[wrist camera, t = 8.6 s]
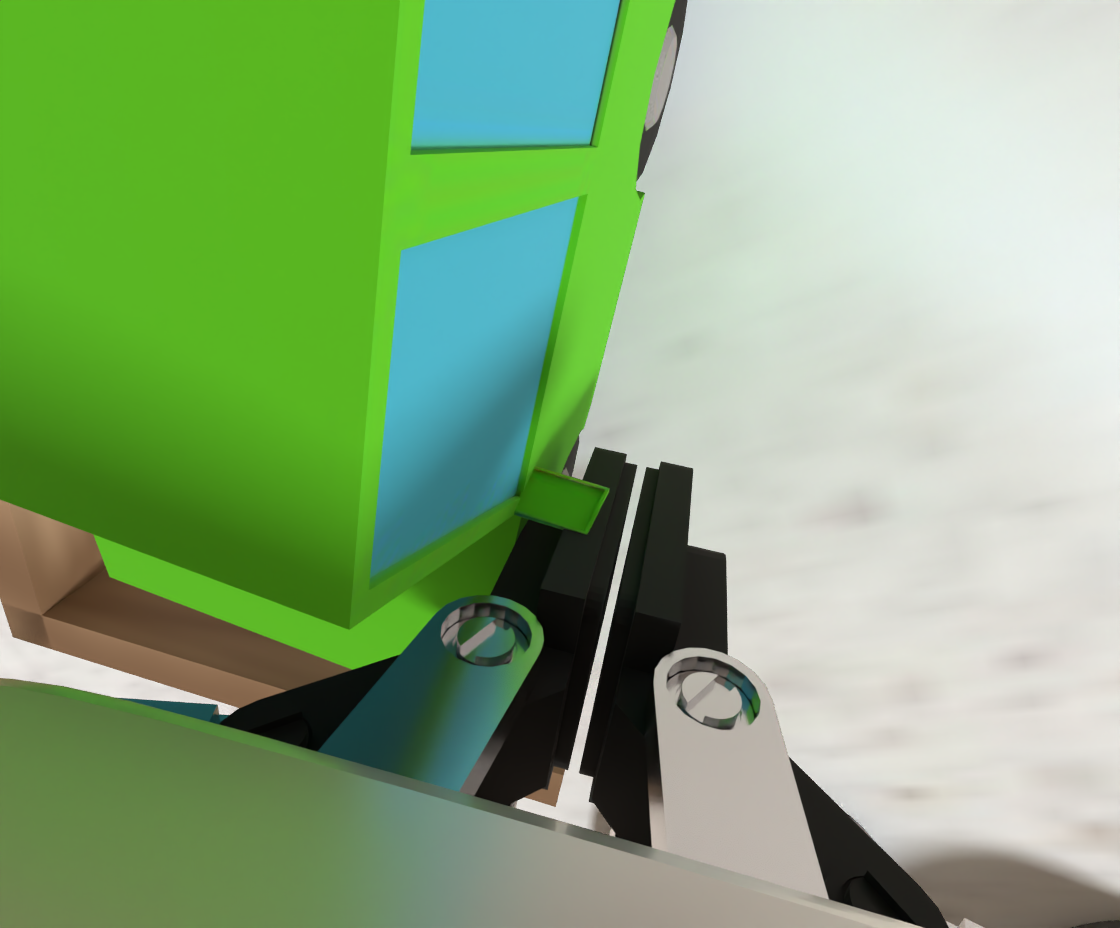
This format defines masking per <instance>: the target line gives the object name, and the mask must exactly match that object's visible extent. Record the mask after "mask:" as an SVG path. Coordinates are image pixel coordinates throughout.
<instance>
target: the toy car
mask: <svg viewBox="0 0 1120 928" xmlns="http://www.w3.org/2000/svg"><path fill="white" fill-rule="evenodd" d="M686 7H687V0H0V500H2V501H5V502H8V503H10V504H13V505H16V506H18V507H21V508H24V509H26V510H29V511H32V512H35V513H37V514H40V515H43V516H45V517H48V518H51V519H53V520H56V521H59V522H61V523H64V524H67V525H69V526H72V527H75V528H77V529H80V530H83V531H85V532H88V533H91V534H93V535H94V537H95V540H96V543H97V545H98V548H99V551H100V553H101V556H102V558H103V561H104V564H105V566H106V569H107V571H108V574H109V577H111V578H114V579H116V580H119V581H121V582H124V583H127V584H129V585H132V586H135V587H137V588H140V589H142V590H145V591H148V592H150V593H153V594H156V595H158V596H161V597H163V598H166V599H169V600H171V601H174V602H176V603H179V604H182V605H184V606H187V607H190V608H192V609H195V610H197V611H200V612H203V613H205V614H208V615H211V616H213V617H216V618H218V619H221V620H224V621H226V622H229V623H231V624H234V625H237V626H239V627H242V628H245V629H247V630H250V631H252V632H255V633H258V634H260V635H263V636H266V637H268V638H271V639H273V640H276V641H279V642H281V643H284V644H286V645H289V646H292V647H294V648H297V649H300V650H302V651H305V652H307V653H310V654H313V655H315V656H318V657H320V658H323V659H326V660H328V661H331V662H334V663H336V664H339V665H341V666H344V667H347V668H349V669H352V670H353V669H356V668H359V667H362V666H365V665H368V664H372V663H375V662H378V661H381V660H384V659H387V658H390V657H393V656H396V655H400V654H401V653H402V652H403V651H404V650H405V649H406V647H407V646H408V645H409V644H410V643H411V642H412V640H413V639H414V638H415V637H416V636H417V635H418V633H419V632H420V631H421V630H422V629H423V628H424V626H425V625H426V624H427V623H428V622H429V621H430V619H431V618H432V617H433V616H434V615H435V614H436V613H437V612H438V611H439V610H440V609H442V608H443V607H444V606H445V605H446V604H448V603H451V602H453V601H455V600H458V599H460V598H464V597H469V596H475V595H490V594H491V592H492V590H493V588H494V586H495V584H496V582H497V580H498V578H499V576H500V573H501V571H502V569H503V567H504V565H505V563H506V561H507V559H508V557H509V555H510V553H511V551H512V549H513V547H514V545H515V543H516V541H517V539H518V537H519V535H520V533H521V531H522V529H523V528H524V526H525V524H526V523H527V521H528V519H529V520H532V521H535V522H539V523H542V524H545V525H548V526H552V527H555V528H558V529H561V530H563V529H568V530H571V531H575V532H578V533H582V534H585V535H587V534H588V532H589V531H590V529H591V527H592V525H593V523H594V521H595V519H596V517H597V515H598V513H599V511H600V509H601V507H602V505H603V503H604V501H605V499H606V497H607V495H608V493H609V489H610V488H607V487H603V486H600V485H597V484H594V483H590V482H587V481H584V480H580V479H577V478H574V477H571V476H572V472H573V469H574V464H575V459H576V455H577V450H578V445H579V434H580V432H581V430H583V429H584V426H585V422H586V419H587V416H588V412H589V409H590V406H591V402H592V398H593V394H594V391H595V387H596V383H597V379H598V375H599V371H600V367H601V363H602V359H603V355H604V351H605V347H606V343H607V340H608V336H609V332H610V328H611V324H612V320H613V316H614V312H615V308H616V304H617V300H618V296H619V292H620V289H621V285H622V281H623V277H624V273H625V269H626V265H627V261H628V257H629V253H630V249H631V245H632V241H633V238H634V234H635V230H636V226H637V222H638V218H639V214H640V210H641V206H642V202H643V198H644V194H645V193H643V192H640V191H636V181H637V180H638V179H639V177H640V176H641V174H642V173H643V171H644V168H645V165H646V163H647V160H648V157H649V155H650V152H651V149H652V147H653V144H654V141H655V139H656V136H657V133H658V129H659V126H660V122H661V119H662V115H663V112H664V108H665V105H666V101H667V98H668V94H669V91H670V87H671V83H672V79H673V74H674V70H675V65H676V61H677V56H678V52H679V47H680V43H681V38H682V34H683V27H684V21H685V14H686ZM581 529H582V530H581Z"/></svg>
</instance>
